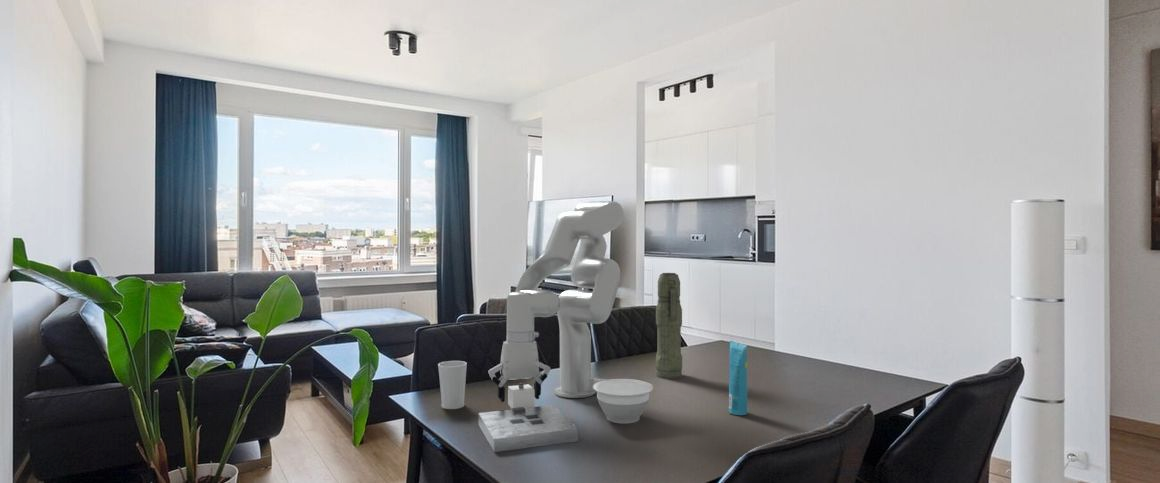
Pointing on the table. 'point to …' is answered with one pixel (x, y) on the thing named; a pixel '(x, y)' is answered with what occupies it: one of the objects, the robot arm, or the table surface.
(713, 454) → the table surface
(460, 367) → the cup
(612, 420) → the bowl
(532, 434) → the socket
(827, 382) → the table surface
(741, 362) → the tube
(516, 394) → the plug
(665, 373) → the thermos
